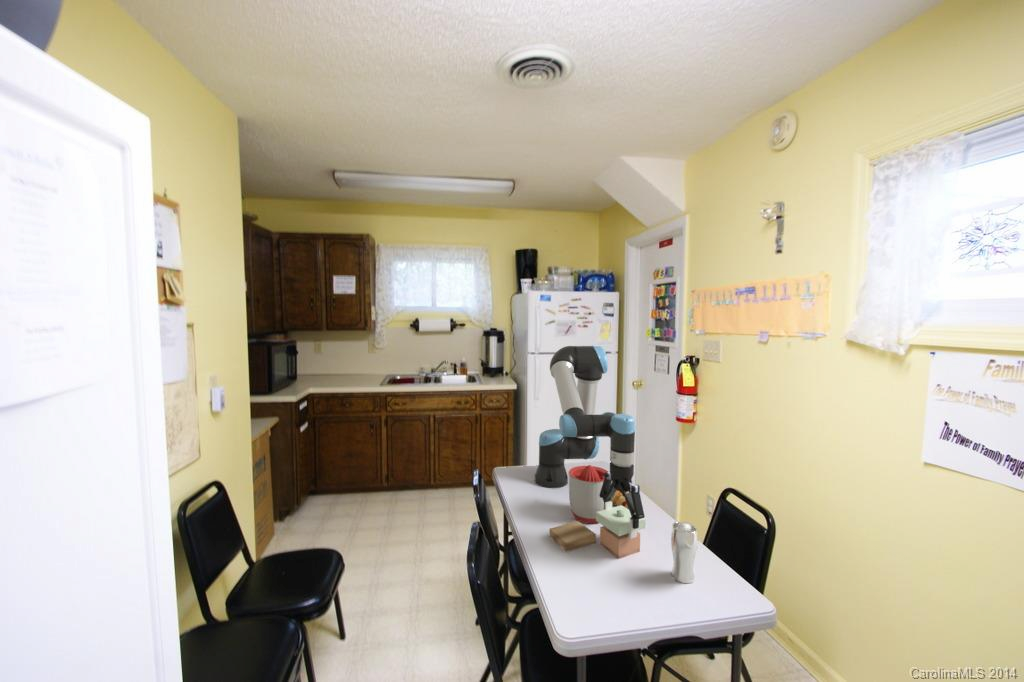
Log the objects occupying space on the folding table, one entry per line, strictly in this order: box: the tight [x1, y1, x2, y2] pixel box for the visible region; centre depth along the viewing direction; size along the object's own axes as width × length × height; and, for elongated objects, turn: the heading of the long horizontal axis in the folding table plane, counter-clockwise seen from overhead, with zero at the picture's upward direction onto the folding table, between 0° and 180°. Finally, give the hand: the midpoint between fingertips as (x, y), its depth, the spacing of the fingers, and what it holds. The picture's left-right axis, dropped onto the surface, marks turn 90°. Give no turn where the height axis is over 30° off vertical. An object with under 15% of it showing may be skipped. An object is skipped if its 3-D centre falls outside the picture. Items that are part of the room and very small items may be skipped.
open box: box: [599, 525, 641, 560], centre depth 136 cm, size 9×9×6 cm
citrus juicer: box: [568, 464, 612, 524], centre depth 156 cm, size 16×17×20 cm
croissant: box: [610, 491, 629, 509], centre depth 168 cm, size 21×10×8 cm, turn 12°
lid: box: [596, 505, 646, 536], centre depth 135 cm, size 11×11×4 cm
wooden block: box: [548, 520, 597, 552], centre depth 140 cm, size 10×12×3 cm
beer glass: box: [670, 521, 698, 584], centre depth 120 cm, size 7×7×15 cm
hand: (620, 528), depth 135 cm, fingers closed on lid, 11 cm apart
